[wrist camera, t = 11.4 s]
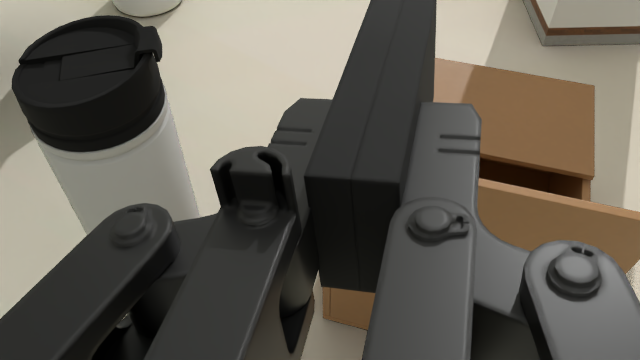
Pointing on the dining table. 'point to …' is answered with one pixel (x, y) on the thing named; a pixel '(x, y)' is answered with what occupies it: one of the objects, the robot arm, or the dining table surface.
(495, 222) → the flap
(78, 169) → the travel mug
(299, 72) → the dining table surface
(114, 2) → the milk bottle
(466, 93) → the carton
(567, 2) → the drip coffee maker
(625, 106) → the dining table surface
